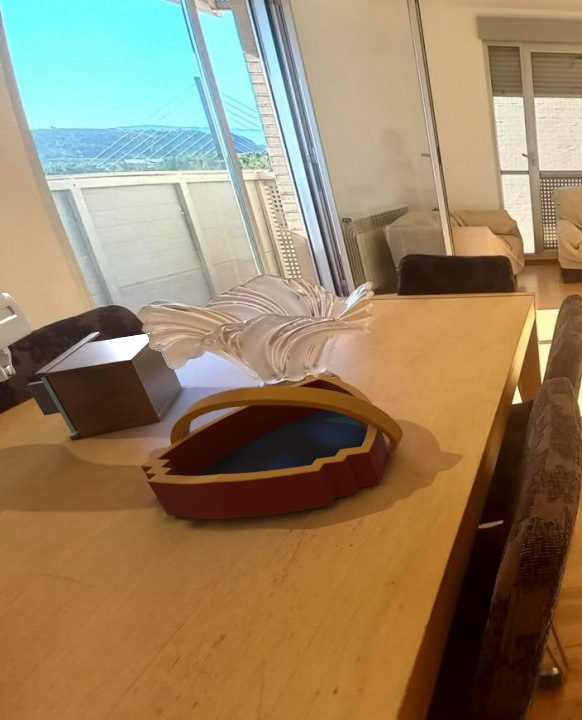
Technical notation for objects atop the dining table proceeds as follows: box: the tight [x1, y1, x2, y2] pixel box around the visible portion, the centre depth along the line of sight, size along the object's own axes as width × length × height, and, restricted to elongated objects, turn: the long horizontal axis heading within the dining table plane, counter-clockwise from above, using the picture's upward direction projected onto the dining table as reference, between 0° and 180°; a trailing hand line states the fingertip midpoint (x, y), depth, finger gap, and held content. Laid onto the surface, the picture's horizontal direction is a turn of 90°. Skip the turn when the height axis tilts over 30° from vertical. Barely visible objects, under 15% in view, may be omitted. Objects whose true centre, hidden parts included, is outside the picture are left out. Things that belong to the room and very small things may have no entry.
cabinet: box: [33, 331, 183, 441], centre depth 95 cm, size 12×25×13 cm, turn 30°
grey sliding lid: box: [26, 375, 77, 434], centre depth 89 cm, size 3×16×11 cm, turn 30°
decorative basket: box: [140, 374, 404, 520], centre depth 73 cm, size 34×29×15 cm
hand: (4, 378), depth 76 cm, fingers closed
